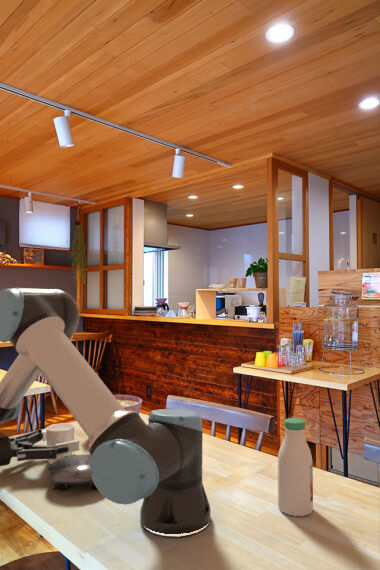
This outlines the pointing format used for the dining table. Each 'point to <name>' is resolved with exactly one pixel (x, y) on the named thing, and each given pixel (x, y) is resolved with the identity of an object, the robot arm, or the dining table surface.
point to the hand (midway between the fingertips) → (71, 438)
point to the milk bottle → (295, 471)
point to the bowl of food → (129, 402)
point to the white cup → (59, 437)
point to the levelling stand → (71, 472)
